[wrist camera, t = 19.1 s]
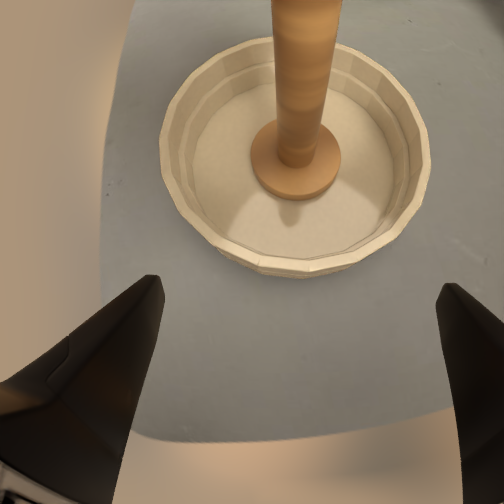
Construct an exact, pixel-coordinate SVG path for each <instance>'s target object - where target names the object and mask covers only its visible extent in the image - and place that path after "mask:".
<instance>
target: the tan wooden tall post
mask: <svg viewBox="0 0 504 504" xmlns="http://www.w3.org/2000/svg"><path fill="white" fill-rule="evenodd" d="M341 5H342V0H271V9H272V26H273V44H274V65H275V87H276V113H277V119H275V120H273V121H271V122H269V123H267V124H266V125H265V126H264V127H262V128H261V129H260V130H259V132H258V133H257V134H256V136H255V138H254V140H253V142H252V146H251V153H250V156H251V163H252V168H253V172H254V174H255V176H256V178H257V180H258V181H259V183H260V184H261V185H262V186H263V187H264V188H265V189H266V190H267V191H268V192H270V193H271V194H273V195H275V196H277V197H279V198H282V199H286V200H292V201H301V200H307V199H311V198H314V197H316V196H318V195H320V194H322V193H323V192H325V191H326V190H327V189H328V188H329V187H330V186H331V184H332V183H333V181H334V180H335V178H336V175H337V173H338V170H339V167H340V163H341V152H340V147H339V145H338V142H337V140H336V138H335V137H334V135H333V134H332V133H331V132H330V130H329V129H327V128H326V127H325V126H324V125H322V124H321V119H322V114H323V109H324V104H325V99H326V93H327V88H328V82H329V77H330V71H331V66H332V60H333V54H334V48H335V43H336V37H337V30H338V24H339V18H340V12H341Z"/></svg>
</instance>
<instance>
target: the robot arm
mask: <svg viewBox="0 0 504 504" xmlns="http://www.w3.org/2000/svg"><path fill="white" fill-rule="evenodd" d="M164 303H165V294H164V290H163V286H162V283H161V279H160V277H159V276H158V275H145V276H144V277H142V278H141V279H140V280H138V281H137V282H136V283H134V284H133V285H132V286H130V287H129V288H128V289H127V290H125V291H124V292H123V293H121V294H120V295H119V296H117V297H116V298H115V299H113V300H112V301H111V302H110V303H108V304H107V305H106V306H104V307H103V308H102V309H101V310H99V311H98V312H97V313H95V314H94V315H93V316H92V317H90V318H89V319H88V320H86V321H85V322H84V323H83V324H81V325H80V326H79V327H78V328H76V329H75V330H74V331H73V332H71V333H70V334H69V336H66V337H65V338H64V339H63V340H61V341H60V342H59V343H58V344H56V345H55V346H54V347H53V348H51V349H50V350H49V351H47V352H46V353H44V354H43V355H42V356H40V357H39V358H37V359H36V360H35V361H33V362H32V363H30V364H29V365H27V366H26V367H25V368H23V369H22V370H20V371H19V372H17V373H16V374H14V375H13V376H12V377H10V378H9V379H7V380H5V381H3V382H0V504H112V500H113V496H114V492H115V487H116V483H117V479H118V475H119V471H120V467H121V462H122V458H123V455H124V451H125V447H126V443H127V440H128V436H129V432H130V429H131V425H132V421H133V418H134V414H135V411H136V407H137V404H138V400H139V397H140V394H141V390H142V387H143V384H144V380H145V377H146V374H147V371H148V367H149V364H150V361H151V358H152V355H153V352H154V348H155V345H156V341H157V337H158V332H159V327H160V322H161V317H162V313H163V308H164ZM436 313H437V319H438V325H439V331H440V338H441V345H442V350H443V355H444V359H445V364H446V368H447V373H448V378H449V383H450V388H451V393H452V399H453V404H454V410H455V416H456V423H457V430H458V438H459V447H460V457H461V461H462V462H461V471H462V484H463V485H462V486H463V504H501V503H503V504H504V323H503V322H502V321H501V320H499V319H498V318H497V317H496V316H495V315H494V314H493V313H491V312H490V311H489V310H488V309H487V308H486V307H484V306H483V305H482V304H481V303H480V302H479V301H477V300H476V299H475V298H474V297H473V296H471V295H470V294H469V293H468V292H466V291H465V290H464V289H463V288H462V287H460V286H459V285H458V284H456V283H445V284H444V285H443V287H442V290H441V292H440V294H439V297H438V299H437V301H436Z"/></svg>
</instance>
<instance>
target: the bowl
mask: <svg viewBox="0 0 504 504" xmlns="http://www.w3.org/2000/svg"><path fill="white" fill-rule="evenodd" d="M275 119H277V113H276V87H275V65H274V44H273V36H272V37H265V38H259V39H252V40H249V41H246V42H244V43H241V44H239V45H236V46H234V47H232V48H229V49H227V50H224V51H222V52H220V53H218V54H216V55H215V56H213V57H212V58H211V59H209V60H208V61H207V62H205V63H204V64H203V65H201V66H200V67H199V68H198V69H196V70H195V71H194V72H193V73H191V74H190V75H189V76H188V78H187V79H186V80H185V82H184V83H183V85H182V86H181V87H180V89H179V90H178V92H177V93H176V94H175V96H174V97H173V99H172V100H171V102H170V103H169V105H168V108H167V112H166V115H165V118H164V122H163V125H162V129H161V132H160V136H159V150H160V164H161V175H162V178H163V180H164V182H165V184H166V187H167V189H168V191H169V193H170V195H171V197H172V199H173V201H174V203H175V205H176V207H177V210H178V212H179V213H180V214H181V215H182V216H183V217H184V218H185V219H186V220H187V221H188V222H189V223H190V224H191V225H192V226H193V227H194V228H195V229H196V230H197V231H198V232H199V233H200V234H201V235H202V236H203V237H204V238H205V239H207V240H208V241H209V242H210V243H211V244H212V245H213V246H214V247H215V248H216V249H217V250H218V251H219V252H221V253H222V254H223V255H224V256H225V257H226V258H228V259H230V260H233V261H235V262H237V263H239V264H241V265H243V266H245V267H248V268H250V269H252V270H254V271H256V272H258V273H260V274H263V275H272V276H280V277H289V278H297V279H306V278H311V277H316V276H321V275H326V274H330V273H335V272H340V271H342V270H345V269H346V268H348V267H350V266H352V265H353V264H355V263H357V262H359V261H360V260H362V259H364V258H365V257H367V256H368V255H370V254H372V253H373V252H375V251H377V250H378V249H380V248H381V247H383V246H385V245H386V244H388V243H389V242H391V241H393V240H394V239H396V237H398V235H399V234H400V233H401V232H402V230H403V229H404V228H405V226H406V225H407V224H408V222H409V221H410V220H411V218H412V217H413V216H414V214H415V213H416V211H417V210H418V209H419V207H420V206H421V204H422V201H423V197H424V193H425V190H426V186H427V182H428V178H429V174H430V170H431V160H430V150H429V140H428V132H427V129H426V127H425V124H424V122H423V120H422V118H421V115H420V113H419V111H418V109H417V107H416V105H415V103H414V101H413V99H412V97H411V96H410V95H409V93H408V92H407V91H406V90H405V89H404V88H403V87H402V85H401V84H400V83H399V82H398V81H397V80H396V79H395V78H394V76H393V75H392V74H391V73H390V72H389V71H388V70H386V69H385V68H384V67H382V66H381V65H379V64H378V63H376V62H375V61H373V60H372V59H370V58H369V57H367V56H365V55H364V54H362V53H361V52H359V51H357V50H355V49H352V48H350V47H347V46H344V45H341V44H338V43H335V48H334V54H333V60H332V66H331V71H330V77H329V82H328V88H327V93H326V99H325V104H324V109H323V114H322V119H321V124H322V125H324V126H325V127H326V128H327V129H329V130H330V132H331V133H332V134H333V135H334V137H335V138H336V140H337V142H338V145H339V147H340V152H341V163H340V167H339V170H338V173H337V175H336V178H335V180H334V181H333V183H332V184H331V186H330V187H329V188H328V189H327V190H326V191H325V192H323V193H322V194H320V195H318V196H316V197H314V198H311V199H307V200H301V201H292V200H286V199H282V198H279V197H277V196H275V195H273V194H271V193H270V192H268V191H267V190H266V189H265V188H264V187H263V186H262V185H261V184H260V183H259V181H258V180H257V178H256V176H255V174H254V172H253V168H252V163H251V156H250V153H251V146H252V142H253V140H254V138H255V136H256V134H257V133H258V132H259V130H260V129H261V128H262V127H264V126H265V125H266V124H267V123H269V122H271V121H273V120H275Z"/></svg>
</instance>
